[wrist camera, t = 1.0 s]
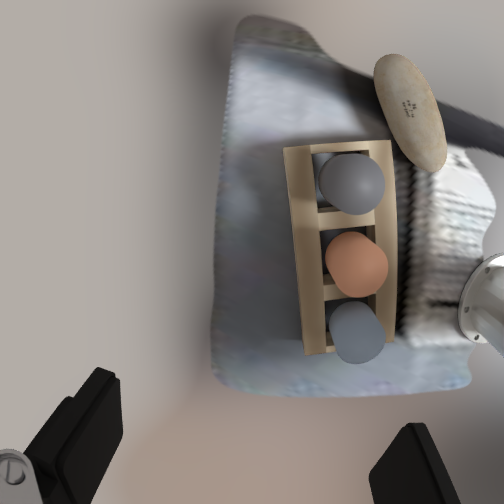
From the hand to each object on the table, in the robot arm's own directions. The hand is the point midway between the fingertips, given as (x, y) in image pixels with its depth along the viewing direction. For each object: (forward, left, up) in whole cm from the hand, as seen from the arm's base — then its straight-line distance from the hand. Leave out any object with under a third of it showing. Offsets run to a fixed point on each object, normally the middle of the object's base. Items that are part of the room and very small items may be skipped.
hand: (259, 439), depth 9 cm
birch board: (-8, +1, -25) cm, 26 cm away
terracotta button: (-8, +1, -22) cm, 23 cm away
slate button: (-8, +8, -21) cm, 24 cm away
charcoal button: (-8, -6, -22) cm, 23 cm away
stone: (-16, -12, -25) cm, 32 cm away
